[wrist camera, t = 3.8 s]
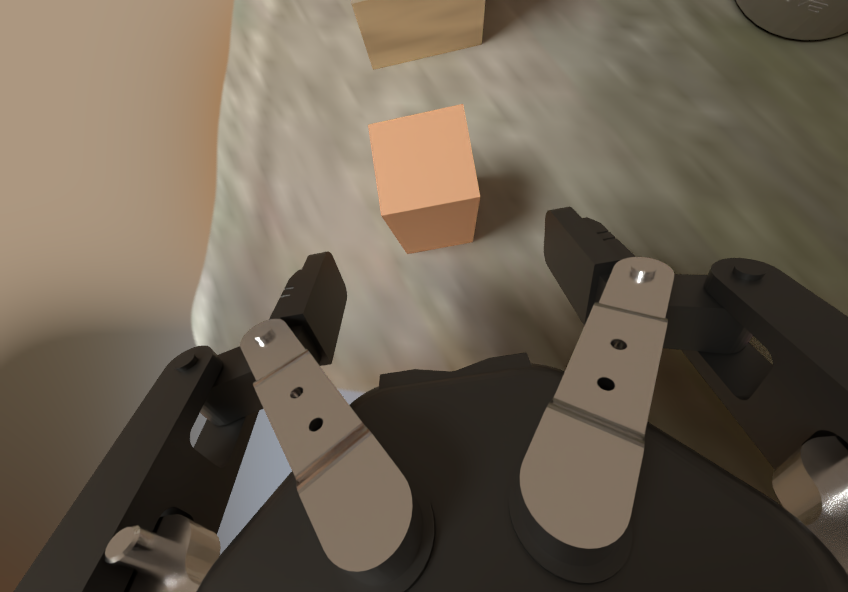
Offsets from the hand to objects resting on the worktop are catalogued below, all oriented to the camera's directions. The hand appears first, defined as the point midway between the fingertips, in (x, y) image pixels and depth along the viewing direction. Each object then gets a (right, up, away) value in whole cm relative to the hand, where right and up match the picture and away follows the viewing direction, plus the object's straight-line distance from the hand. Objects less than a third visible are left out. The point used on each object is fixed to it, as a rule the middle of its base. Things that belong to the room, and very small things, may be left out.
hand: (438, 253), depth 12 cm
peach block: (0, +4, +10) cm, 11 cm away
